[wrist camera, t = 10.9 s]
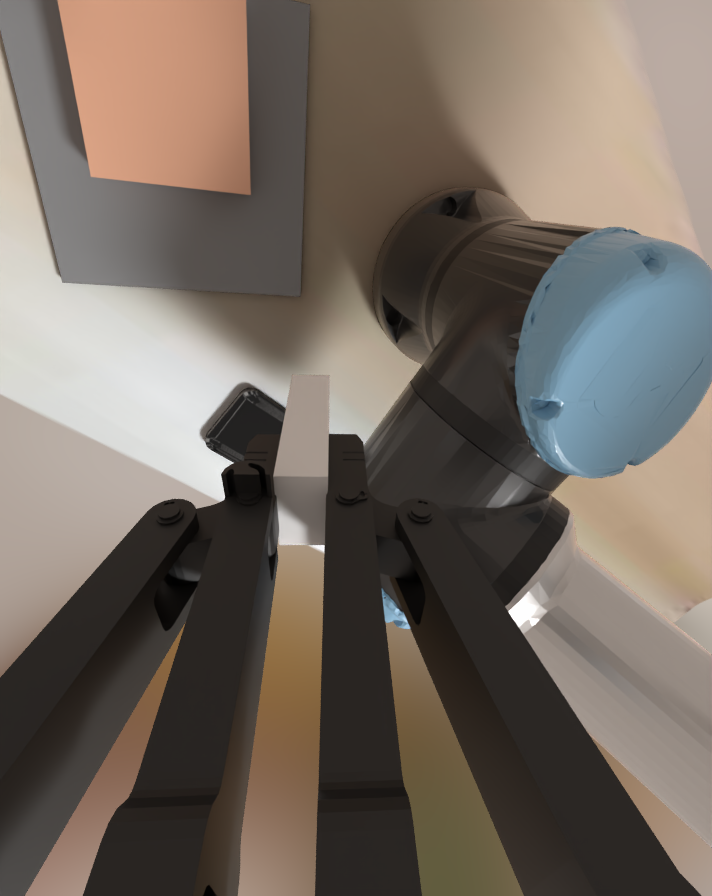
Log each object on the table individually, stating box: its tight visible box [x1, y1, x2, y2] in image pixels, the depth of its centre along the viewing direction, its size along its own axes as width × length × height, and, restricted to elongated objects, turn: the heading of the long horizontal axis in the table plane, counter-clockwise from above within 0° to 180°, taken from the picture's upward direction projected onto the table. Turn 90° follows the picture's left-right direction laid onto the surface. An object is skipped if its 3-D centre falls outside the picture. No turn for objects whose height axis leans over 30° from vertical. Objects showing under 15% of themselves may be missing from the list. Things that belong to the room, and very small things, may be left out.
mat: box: [0, 0, 310, 297], centre depth 29 cm, size 18×18×1 cm
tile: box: [57, 0, 251, 195], centre depth 26 cm, size 10×2×10 cm
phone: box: [205, 388, 286, 463], centre depth 44 cm, size 8×1×15 cm
